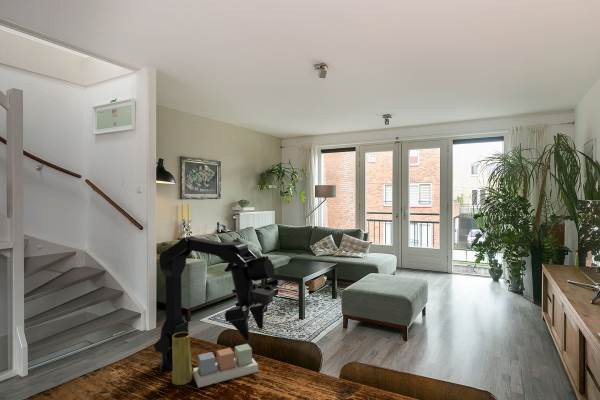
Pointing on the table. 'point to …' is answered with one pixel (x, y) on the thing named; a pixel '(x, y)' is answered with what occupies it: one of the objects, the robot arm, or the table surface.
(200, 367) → the pale blue block
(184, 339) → the vase
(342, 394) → the table surface
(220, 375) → the button board
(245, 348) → the sage button
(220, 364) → the salmon block
